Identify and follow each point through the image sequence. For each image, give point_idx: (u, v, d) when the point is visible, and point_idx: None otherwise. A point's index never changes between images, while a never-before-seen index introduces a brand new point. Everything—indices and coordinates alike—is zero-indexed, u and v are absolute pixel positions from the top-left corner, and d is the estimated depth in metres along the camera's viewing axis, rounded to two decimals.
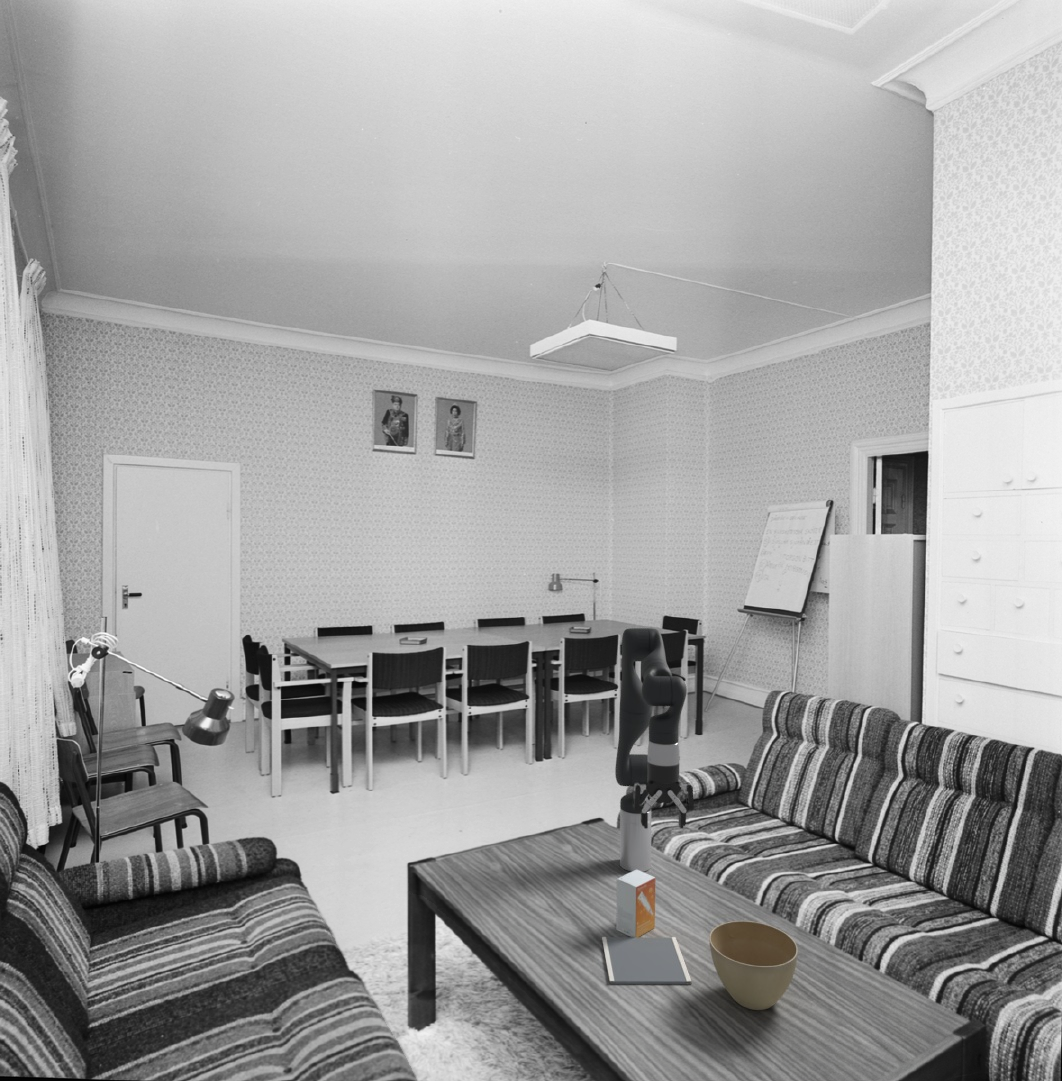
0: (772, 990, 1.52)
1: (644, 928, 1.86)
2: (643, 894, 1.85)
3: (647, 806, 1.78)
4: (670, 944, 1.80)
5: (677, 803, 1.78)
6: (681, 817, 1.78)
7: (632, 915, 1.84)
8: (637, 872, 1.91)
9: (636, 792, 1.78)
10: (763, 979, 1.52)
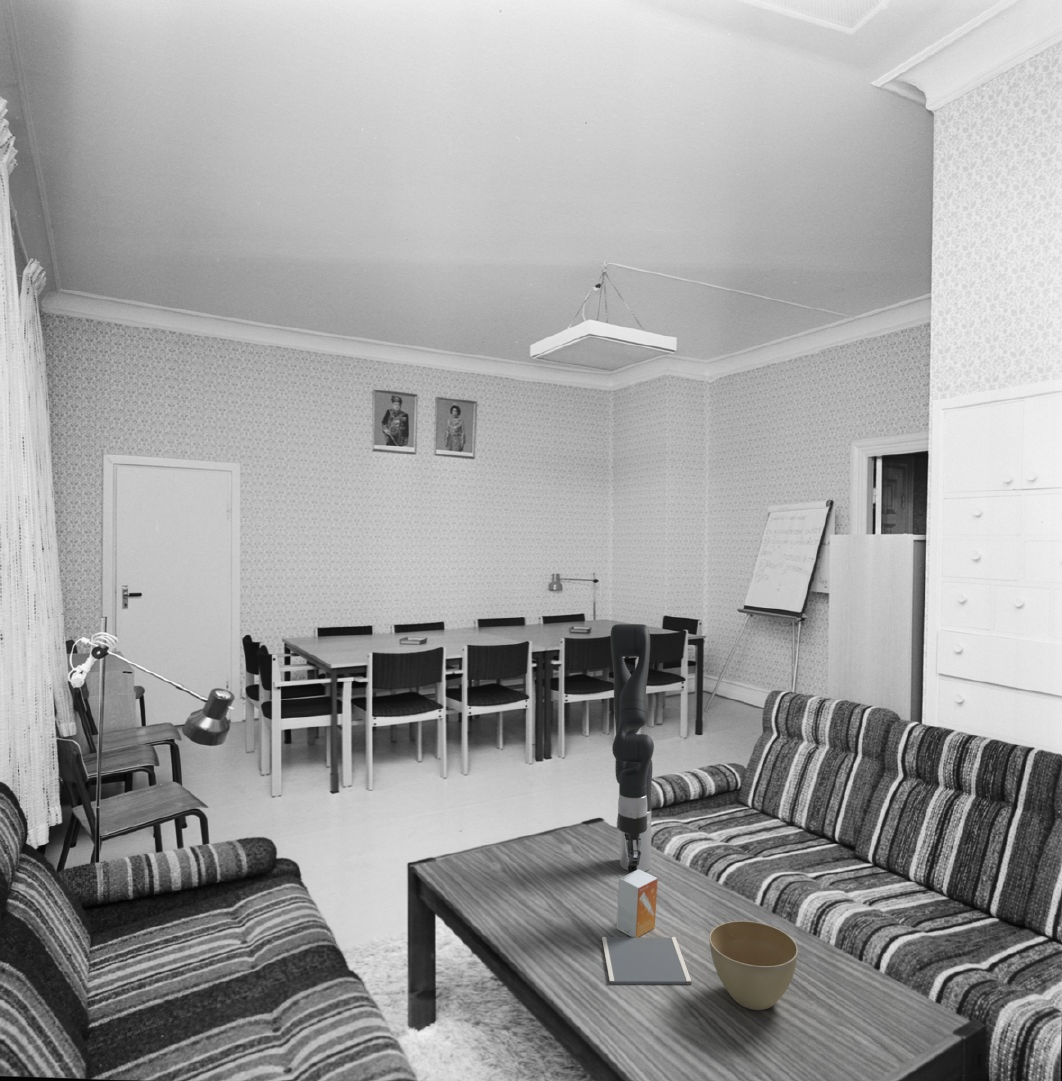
0: (772, 990, 1.52)
1: (644, 928, 1.86)
2: (645, 895, 1.85)
3: None
4: (670, 944, 1.80)
5: None
6: None
7: (633, 915, 1.84)
8: (639, 872, 1.91)
9: (639, 856, 1.89)
10: (763, 979, 1.52)
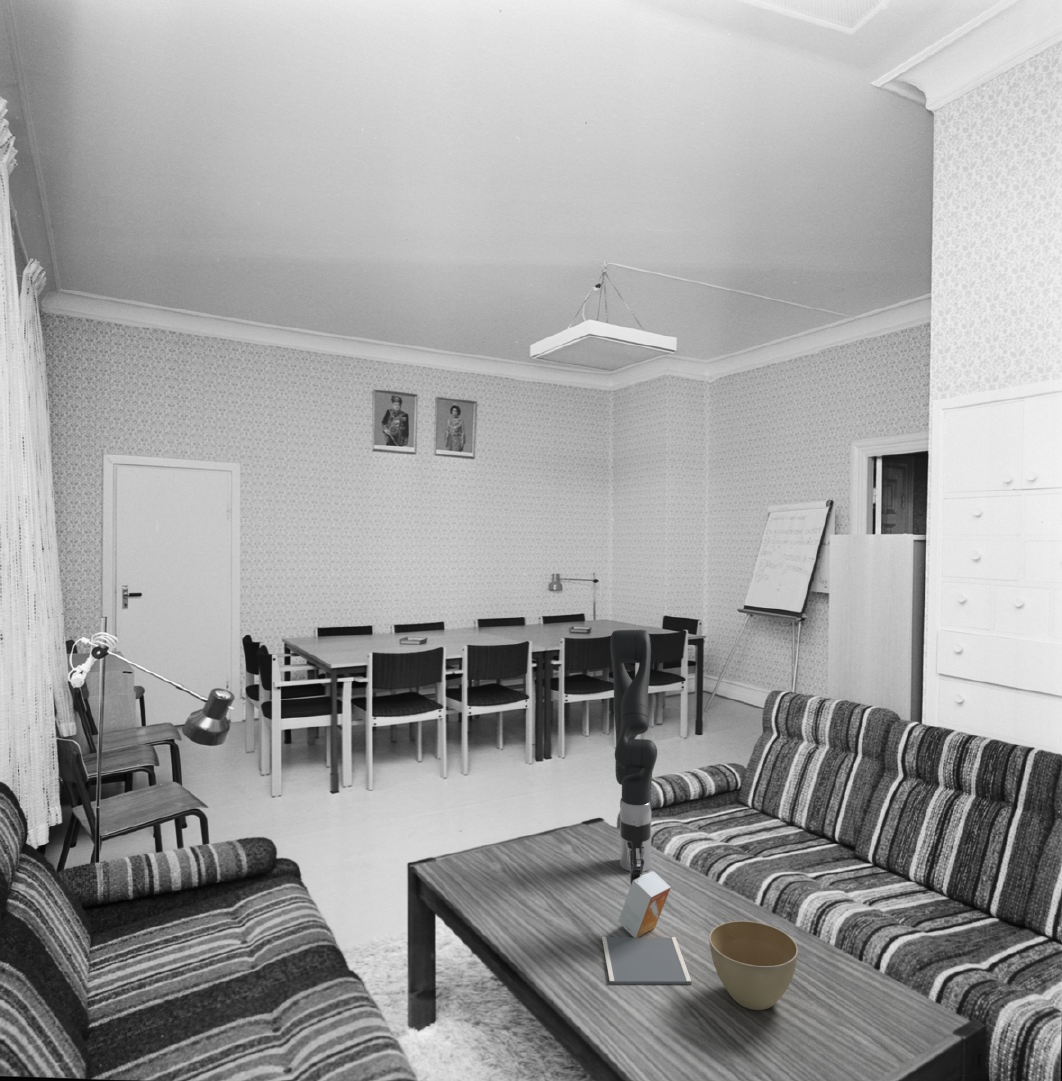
0: (772, 990, 1.52)
1: (646, 929, 1.85)
2: (655, 902, 1.83)
3: None
4: (670, 944, 1.80)
5: None
6: None
7: (639, 918, 1.83)
8: (653, 875, 1.88)
9: (643, 865, 1.84)
10: (763, 979, 1.52)
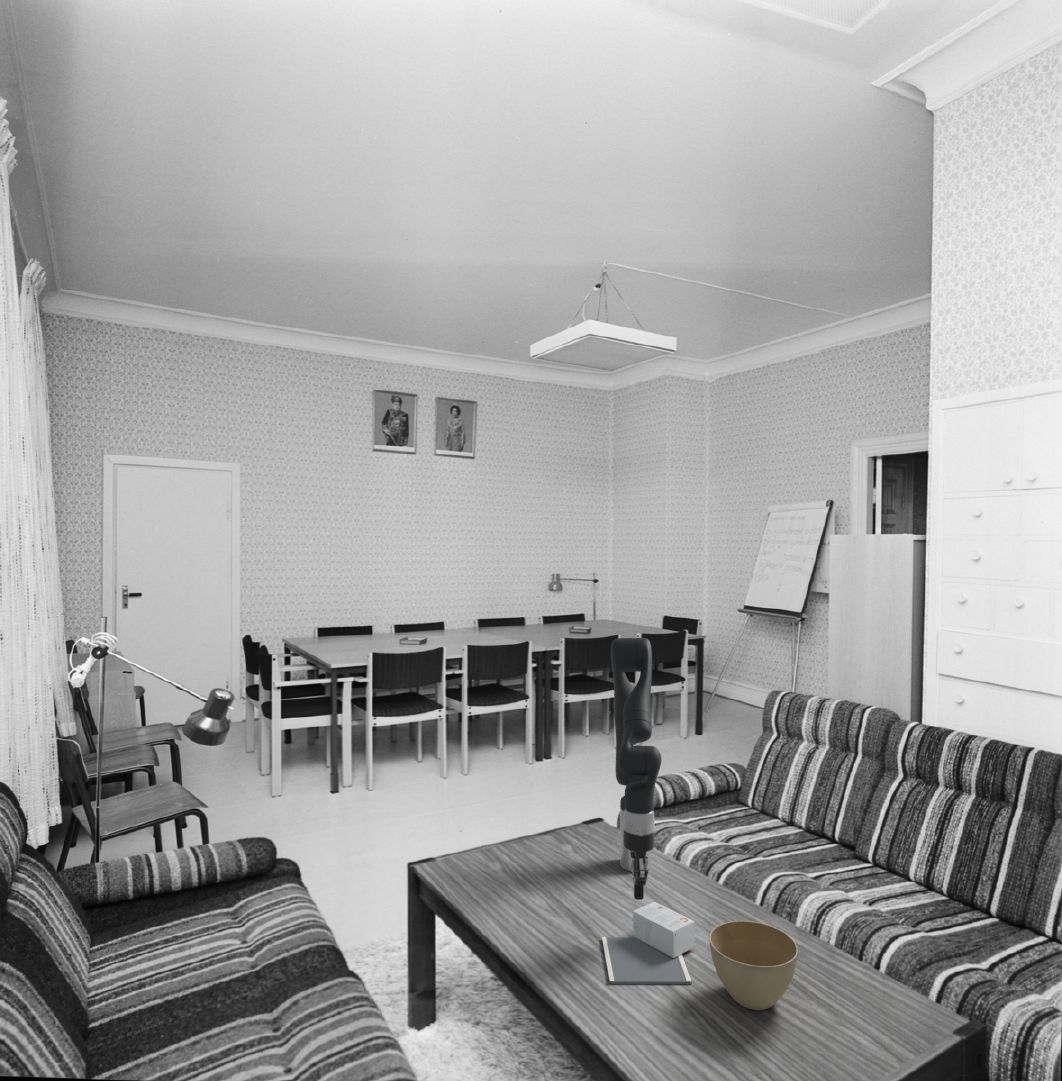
0: (772, 990, 1.52)
1: None
2: None
3: None
4: None
5: None
6: None
7: (649, 941, 1.79)
8: (691, 929, 1.78)
9: (646, 876, 1.78)
10: (763, 979, 1.52)
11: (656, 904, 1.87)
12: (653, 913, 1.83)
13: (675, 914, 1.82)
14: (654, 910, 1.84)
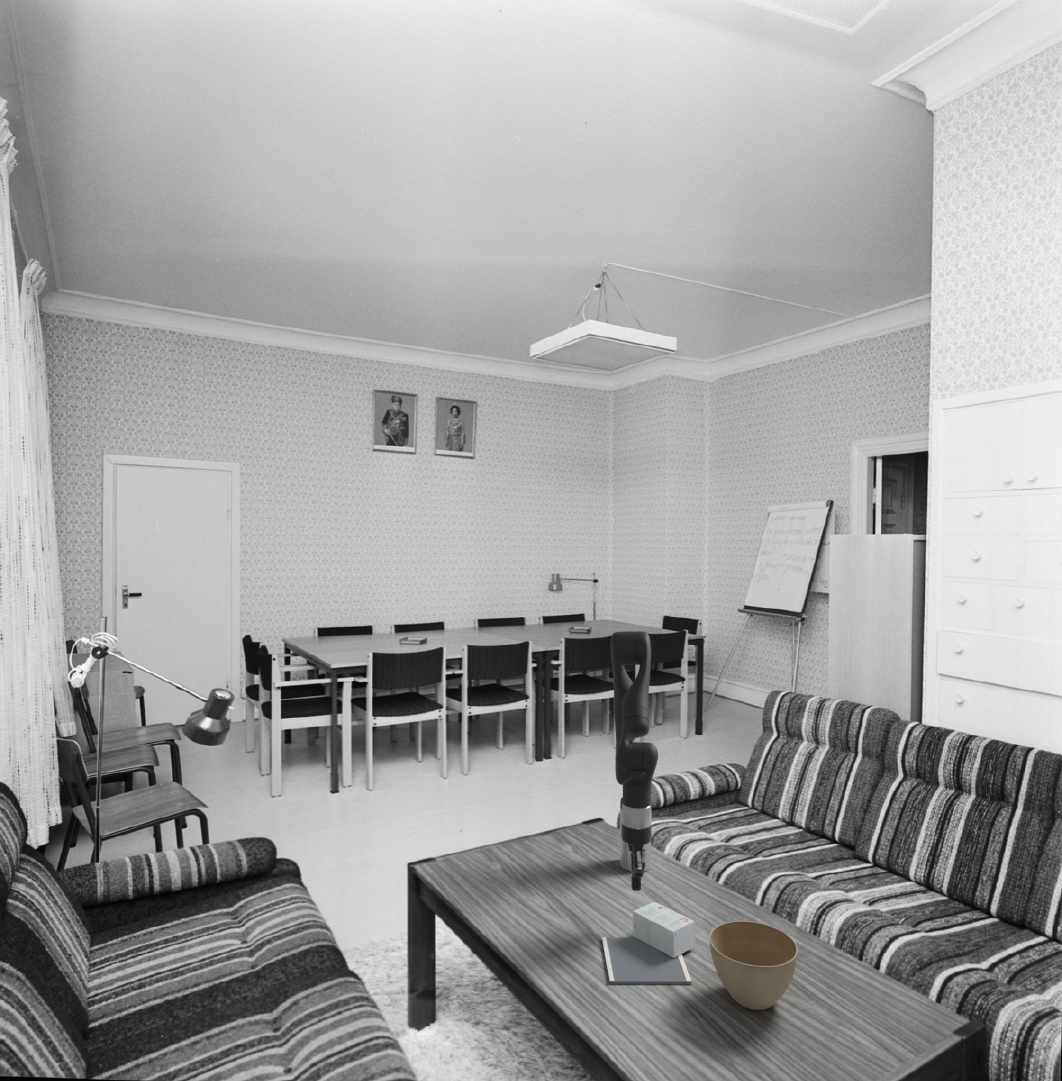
0: (772, 990, 1.52)
1: None
2: None
3: None
4: None
5: None
6: None
7: (649, 941, 1.79)
8: (691, 929, 1.78)
9: None
10: (763, 979, 1.52)
11: (656, 904, 1.87)
12: (653, 913, 1.83)
13: (675, 914, 1.82)
14: (654, 910, 1.84)
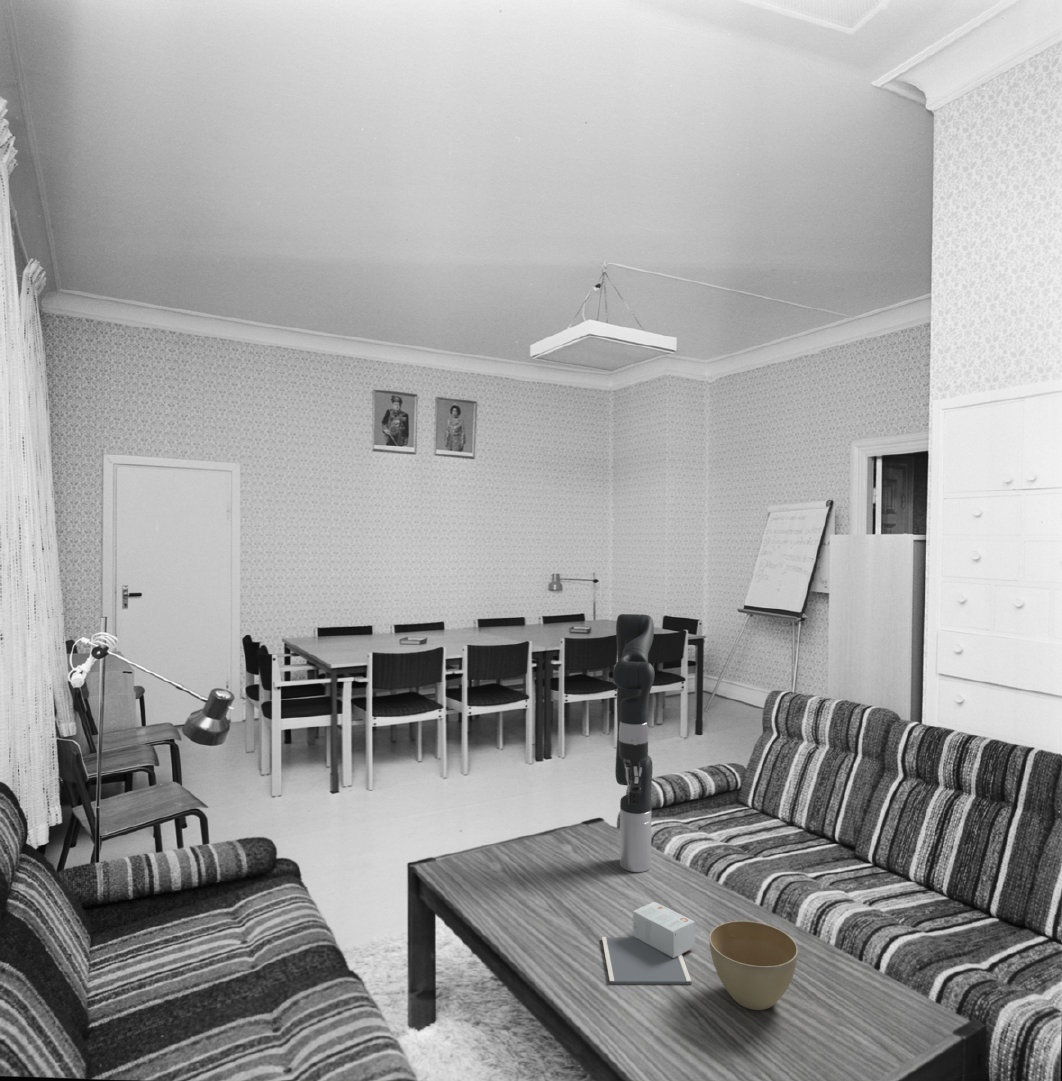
0: (772, 990, 1.52)
1: None
2: None
3: None
4: None
5: None
6: None
7: (649, 941, 1.79)
8: (691, 929, 1.78)
9: (640, 782, 1.89)
10: (763, 979, 1.51)
11: (656, 904, 1.87)
12: (653, 913, 1.83)
13: (675, 914, 1.82)
14: (654, 910, 1.84)
